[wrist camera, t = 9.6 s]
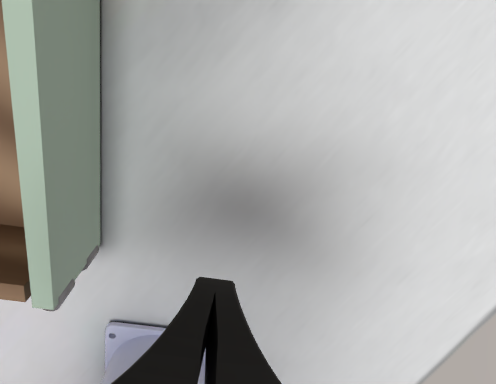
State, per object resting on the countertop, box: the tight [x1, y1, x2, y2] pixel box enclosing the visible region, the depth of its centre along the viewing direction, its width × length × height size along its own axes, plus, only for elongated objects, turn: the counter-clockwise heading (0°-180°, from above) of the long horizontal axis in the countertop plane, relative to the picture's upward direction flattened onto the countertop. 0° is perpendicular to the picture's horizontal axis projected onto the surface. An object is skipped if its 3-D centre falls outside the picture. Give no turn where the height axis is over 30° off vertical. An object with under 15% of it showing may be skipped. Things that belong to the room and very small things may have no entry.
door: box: [2, 0, 100, 311], centre depth 17 cm, size 16×1×6 cm, turn 170°
